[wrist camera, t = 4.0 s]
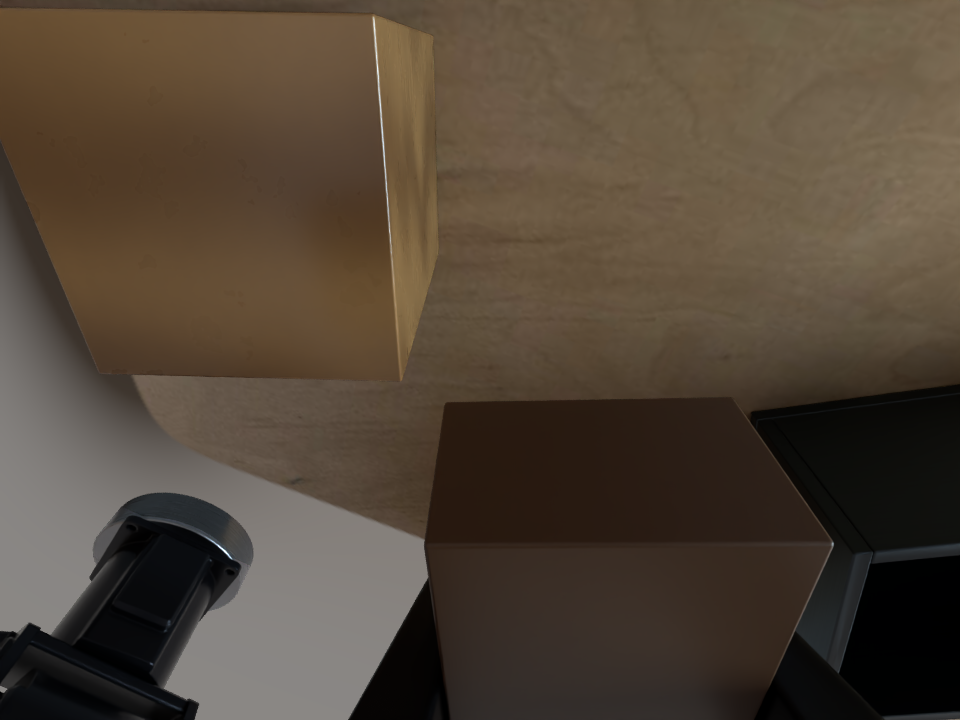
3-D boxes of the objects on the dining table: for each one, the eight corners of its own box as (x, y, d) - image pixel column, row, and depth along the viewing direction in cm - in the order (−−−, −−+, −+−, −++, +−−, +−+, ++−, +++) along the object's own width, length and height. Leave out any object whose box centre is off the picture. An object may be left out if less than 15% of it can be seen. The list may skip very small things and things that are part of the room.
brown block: (662, 674, 11) (704, 831, 8) (470, 673, 11) (463, 827, 9) (734, 395, 7) (837, 543, 5) (443, 401, 7) (423, 546, 5)
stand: (438, 253, 19) (402, 382, 12) (255, 249, 20) (97, 374, 12) (433, 35, 16) (374, 13, 8) (209, 31, 16) (-60, 6, 8)
